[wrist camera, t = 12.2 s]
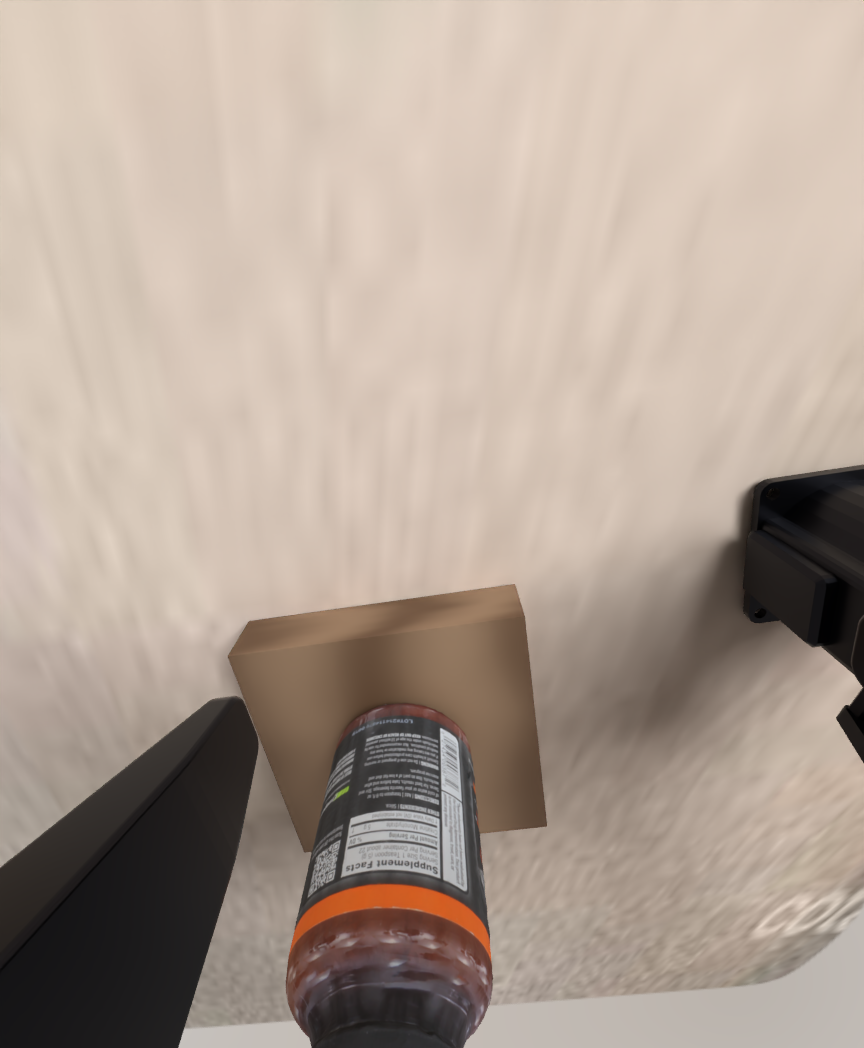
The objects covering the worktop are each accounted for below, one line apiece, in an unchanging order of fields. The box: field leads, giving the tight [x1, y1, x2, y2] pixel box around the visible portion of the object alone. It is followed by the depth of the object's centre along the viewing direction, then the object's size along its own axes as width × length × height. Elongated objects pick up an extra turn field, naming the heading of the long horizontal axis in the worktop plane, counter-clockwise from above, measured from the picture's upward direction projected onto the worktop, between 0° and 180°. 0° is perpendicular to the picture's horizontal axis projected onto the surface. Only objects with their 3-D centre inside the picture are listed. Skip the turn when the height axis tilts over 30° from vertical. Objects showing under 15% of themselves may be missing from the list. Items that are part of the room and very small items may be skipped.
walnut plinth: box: [228, 584, 547, 852], centre depth 23 cm, size 12×12×2 cm
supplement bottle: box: [286, 703, 493, 1048], centre depth 17 cm, size 6×6×11 cm
